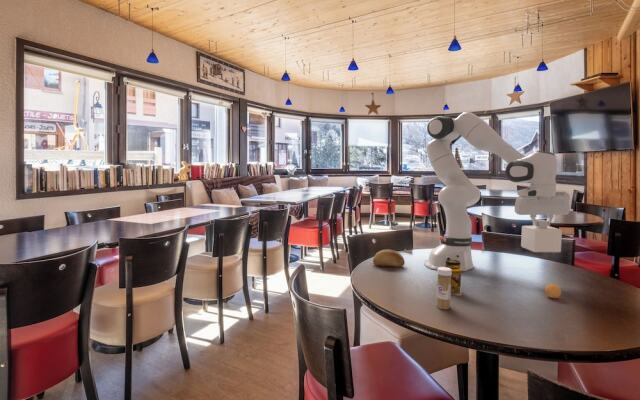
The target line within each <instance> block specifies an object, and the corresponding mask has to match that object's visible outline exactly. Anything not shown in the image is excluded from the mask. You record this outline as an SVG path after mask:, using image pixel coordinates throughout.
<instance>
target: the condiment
mask: <svg viewBox="0 0 640 400" xmlns="http://www.w3.org/2000/svg"><path fill="white" fill-rule="evenodd" d="M445 267H447V268H450V269H452V275H451V296H463V294H462V293H463V292H462V289H461V286H462V284H461V283H462V271H461V268H460V261H458V260H446V264H445Z"/></svg>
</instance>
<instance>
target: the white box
mask: <svg viewBox="0 0 640 400" xmlns="http://www.w3.org/2000/svg"><path fill="white" fill-rule="evenodd" d="M546 220H547V219H546ZM546 220H545V219H536V221H538V222H539V226H533V225H522V226H521V236H520V237H521V238H520V239H521V241H520V247H521V248H523V249H525V250H528V251H530V252H533V253H561V252H562V238H563V237H562V236H563V230H562V229H560V228H557V227H554V226H553V227H552V226H547V222H548V221H546Z"/></svg>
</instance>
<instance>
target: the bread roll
mask: <svg viewBox="0 0 640 400" xmlns="http://www.w3.org/2000/svg"><path fill="white" fill-rule="evenodd" d="M372 264H374V265H375V266H380V267H395V268H400V267H403V266H404V265H405V259H404V257H403V256H402V254H400V252H398V251H396V250H395V249H393V250H392V249H381V250H379V251H378V252H376V253H375V254H374V255H373V258H372Z"/></svg>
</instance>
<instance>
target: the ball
mask: <svg viewBox="0 0 640 400" xmlns="http://www.w3.org/2000/svg"><path fill="white" fill-rule="evenodd" d="M544 293H545V295H546V296H547V297H548V298H549V299H550V298H551V299H557V298H560V296H562V290H561V287H560V286H559V285H557V284H554V283H550V284H547V285H546V286H545V288H544Z"/></svg>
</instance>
